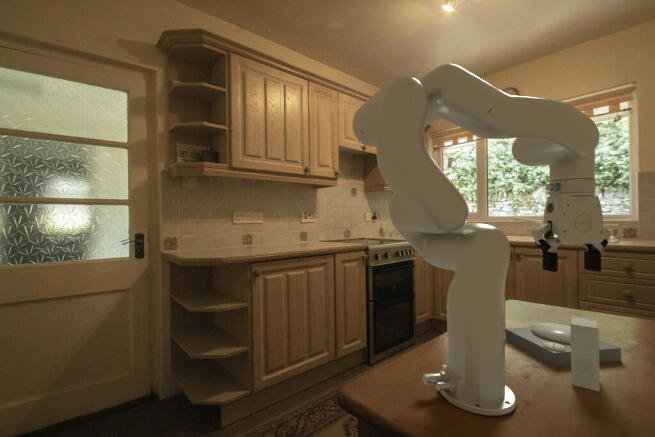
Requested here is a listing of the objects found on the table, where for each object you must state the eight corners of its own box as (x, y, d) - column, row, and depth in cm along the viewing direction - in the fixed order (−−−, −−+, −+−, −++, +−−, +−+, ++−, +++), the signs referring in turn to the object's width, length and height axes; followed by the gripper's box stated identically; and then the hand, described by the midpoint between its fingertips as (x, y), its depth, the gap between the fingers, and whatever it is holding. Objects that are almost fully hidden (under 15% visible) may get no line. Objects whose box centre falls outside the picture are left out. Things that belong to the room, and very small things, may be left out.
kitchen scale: (554, 366, 66) (553, 348, 66) (505, 339, 81) (505, 324, 81) (621, 361, 69) (620, 343, 69) (561, 336, 84) (561, 321, 84)
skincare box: (571, 372, 64) (570, 315, 64) (598, 379, 61) (597, 320, 61) (570, 385, 59) (570, 323, 59) (600, 393, 56) (599, 328, 56)
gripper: (547, 187, 60) (547, 274, 60) (627, 188, 61) (627, 273, 61) (520, 191, 67) (520, 268, 67) (591, 192, 69) (591, 267, 69)
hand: (571, 270), depth 64 cm, fingers open, 9 cm apart
